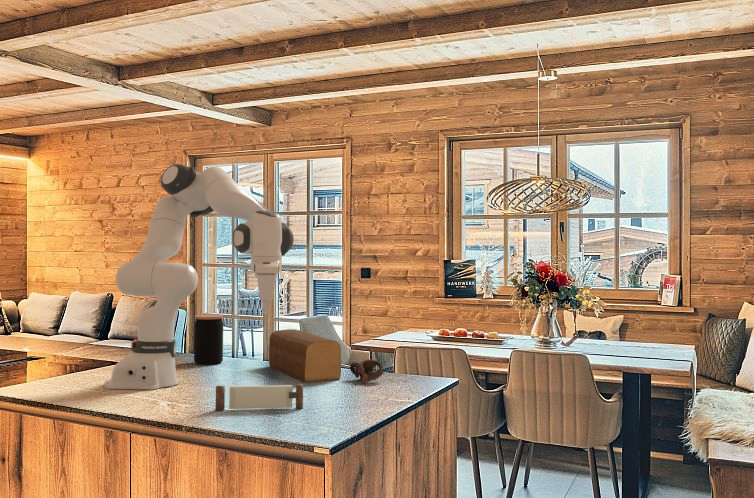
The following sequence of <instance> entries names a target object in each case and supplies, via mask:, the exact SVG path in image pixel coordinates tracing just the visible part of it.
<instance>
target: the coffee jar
mask: <svg viewBox="0 0 754 498" xmlns="http://www.w3.org/2000/svg"><path fill="white" fill-rule="evenodd" d="M223 319H224V315H223V314H216V313H215V314H213V313H212V314H211V313H209V314H208V313H207V314H206V313H205V314H195V315H194V321H195V322H194V332H193V333H194V334H193V335H194V336H193V337H194V343H193V361H194V363H195V365H200V366H215V365H216V366H217V365H220V364H222V363H223V360H224V320H223Z"/></svg>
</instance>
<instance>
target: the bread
mask: <svg viewBox="0 0 754 498" xmlns="http://www.w3.org/2000/svg"><path fill="white" fill-rule="evenodd" d="M268 346H269V348H268V364H269V367H270V368H272V369H274V370H277V371H279V372H281V373H283V374H286V375H287V374H288V376H290V377H292V378H295V379H297V380H300V381H301V382H306V383H313V382H325V381H326V380H327V381H334V380H335V381H336V380H337V381H338V380H339V379H341V376H342V375H341V374H342V347H341V344H340V343H339V342H338V341H336V340H333V339H330V338H328V337H327V338H326V337H323V336H319V335H315V334H312V333H309V332H306V331H302V330H299V329H294V328H293V329H290V328H289V329H280V330H275V331H273V332H271V334H270V336H269V344H268ZM327 381H326V382H327Z"/></svg>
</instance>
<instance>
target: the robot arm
mask: <svg viewBox="0 0 754 498" xmlns="http://www.w3.org/2000/svg"><path fill="white" fill-rule="evenodd" d="M160 185H161V188H162V189H163V190H164V191H165V192H166V193H167V194H168V195H166V196H163V197H161V198H160V199H158V201H157V202H156V205H155V207H154V209H153V212H152V214H151V218H150V223H149V226H148V227H149V228H148V232H147V236H146V239H145V242H144V245H143V246H142V248H141V249H140V251H139V252H138V253H137V254H136V255H135V256H134V257H133V258H132V259H130V260H128V261H127V262H125V263H124V264H122V265H120V267H119V268H118V270H117V272H116V274H115V283H116V287H117V289H118V290H119V291H120V292H121V293H122V294H126V295H129V296H135V297H156V302H155V304H154V306H153V305H152V306H151V307H149V308H147V309H145V310H143V311H142V312H141V313H140V315H138V316H139V317H138V319H137V320H138V321H137V322H138V323H137V324H138V325H137V326H138V327H137V329H138V331H137V339H133V340H132V341H131V344H130V351H131V352H130V353H129V354H127V355H126V356H124V357H123V358H122V359H120V361H118V362H117V363H115V365H114V367H113V369H112V372H111V378H109V379H107V380H105V381H104V383H103V387H104V388H105V389H110V390H113V389H114V390H148V391H149V390H157V389H160V388H166V387H168V388H169V387H171V386H176V385H178V384H179V382H180V381H179V378H178V373H177V370H176V369H177V368H176V362H175V361H176V360H175V359H176V358H175V357H176V351H177V345H176V344H177V343H176V339H175V324H176V316H177V312H178V310H179V308H180V306H181V304H183V302H184V301H185V300H186V299H187V298H188V297H189V296H190V295H192V294H193V293H195V291H196V289H197V287H198V284H199V276H198V273H197V271H196V269H195V268H194V266H193V265H190V264H186V263H181V262H169V261H168V262H167V260H169V259H171V258H172V257H175V256H176V255H177V254H178V253H180V250H181V249H182V245H183V244H182V243H183V238H184V232H185V226H186V220H187V217H188V216H189V215H190V216H191V217H194V218H198V217H199V216H207V215H209V214H212V213H213V212H215V213H217V214H218V215H220V216H223V217H229V218H234V219H242V220H244V221H245V222H242V223H239V224H238V225H237V226H236V228H235V229H234V230H233V233H232V234H233V235H232V245H233V247H234V248H235V250H236V251H237V252H238V253H240V254H243V255H250V272H251V273H254V274H255V275H254V277H255V279H257V288H258V289H257V290H258V297H259V300H260V301H261V306H262V307H261V308H262V310H261V311H262V315H269V313H270V302H271V301H273V299H274V295H275V287H276V279H278V274H280V273H282V272H283V271H282V263H283V262H282V260H283V259H282V257H283V256H285V255H286V254H287V253H288V252H289V251H290V250H291V249H292V247H293V245H294V233H293V231H292V230H291V228H290V227H289V225H287V223H284V222H282V219H281V216H280V214H279V213H278V212H276V211H269V210H268V209H267V207H265V206H264V204H263V203H262V202H260V201H259V200H258V199H256V198H254V197H253V196H252V195H251V194H249V193H247V192H246V191H245V190H243V189H242V188H241V187H240V185H238V183H237V182H235V180H234V179H233V177H231V175H230V174H229V173H227V171H225V170H224V169H222V168H221V167H218V166H209V167H207V168H206V169H204V170H203V171H202V172H197V171H196V170H195V168H194V167H192V166H186V165H183V164H181V163H175V164H172V165H170V166H168V167H167V168H166V169H164V171H163V173H162V175H161V179H160Z"/></svg>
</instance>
